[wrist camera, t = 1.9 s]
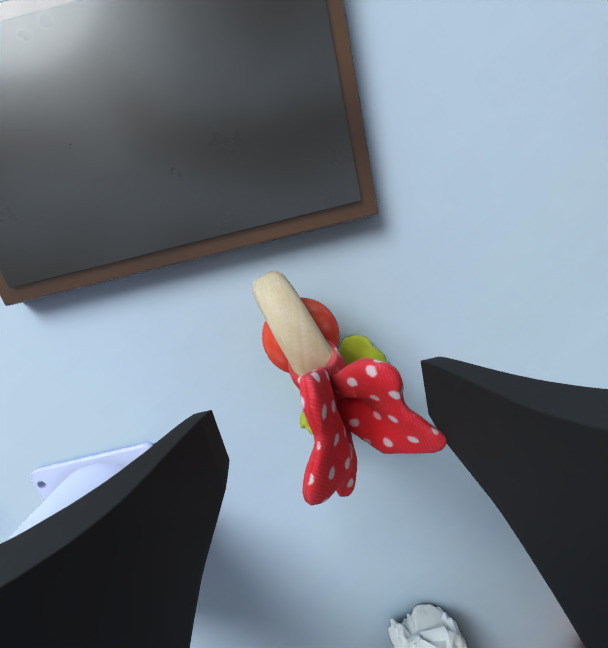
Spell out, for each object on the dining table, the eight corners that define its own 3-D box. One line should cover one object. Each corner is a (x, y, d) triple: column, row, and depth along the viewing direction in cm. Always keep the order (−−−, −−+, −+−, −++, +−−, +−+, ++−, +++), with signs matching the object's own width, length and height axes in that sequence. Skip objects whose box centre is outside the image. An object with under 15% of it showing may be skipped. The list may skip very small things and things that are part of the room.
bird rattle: (247, 329, 20) (324, 453, 18) (108, 306, 9) (264, 601, 8) (326, 273, 19) (413, 398, 18) (275, 177, 9) (487, 473, 7)
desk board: (373, 215, 17) (379, 213, 15) (21, 302, 17) (1, 307, 16) (326, -66, 14) (329, -95, 12) (-102, 50, 14) (-138, 33, 13)
